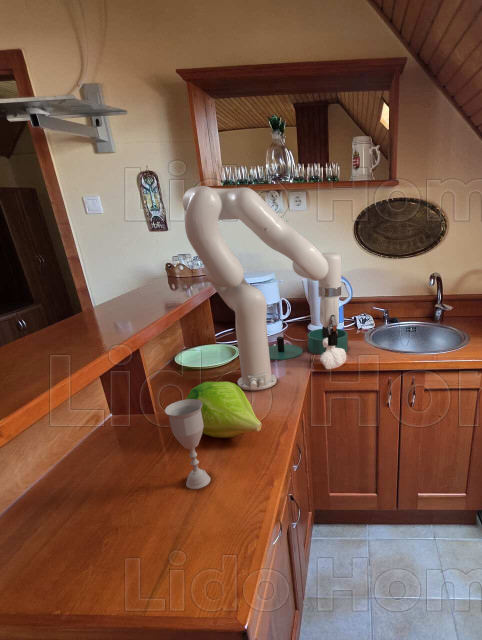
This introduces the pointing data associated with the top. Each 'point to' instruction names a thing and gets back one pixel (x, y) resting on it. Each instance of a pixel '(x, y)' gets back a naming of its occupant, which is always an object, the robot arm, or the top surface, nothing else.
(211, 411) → the lettuce
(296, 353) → the lid
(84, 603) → the top surface
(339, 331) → the pot
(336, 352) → the white lumpy round piece
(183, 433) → the chalice
